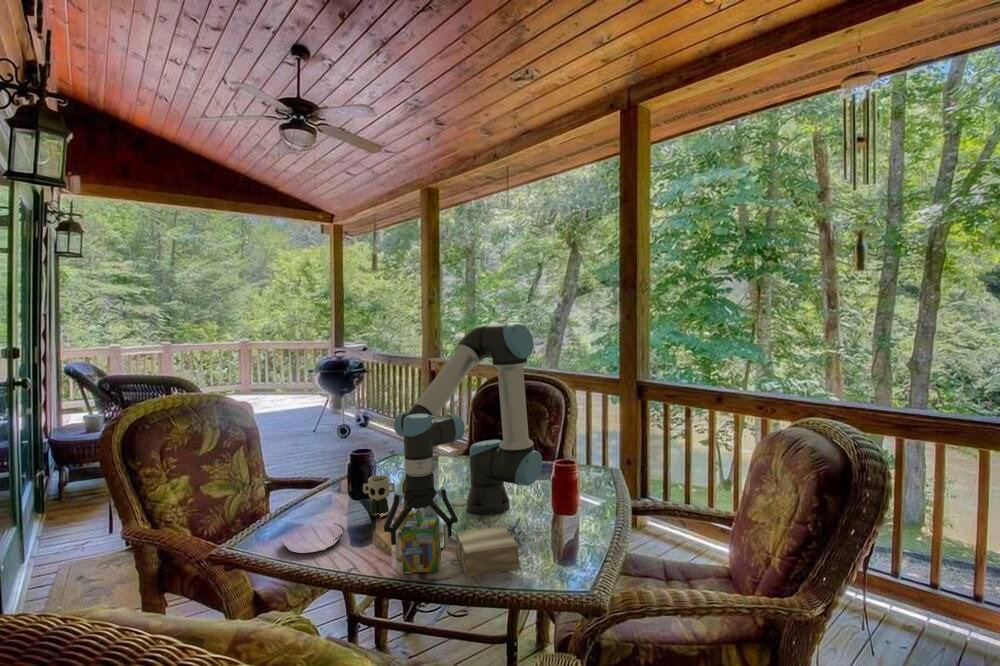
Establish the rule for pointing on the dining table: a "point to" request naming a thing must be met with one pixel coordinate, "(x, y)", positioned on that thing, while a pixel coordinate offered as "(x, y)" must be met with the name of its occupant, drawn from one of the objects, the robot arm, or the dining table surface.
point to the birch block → (487, 550)
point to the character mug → (379, 493)
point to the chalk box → (421, 544)
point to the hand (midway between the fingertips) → (422, 552)
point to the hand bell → (411, 513)
